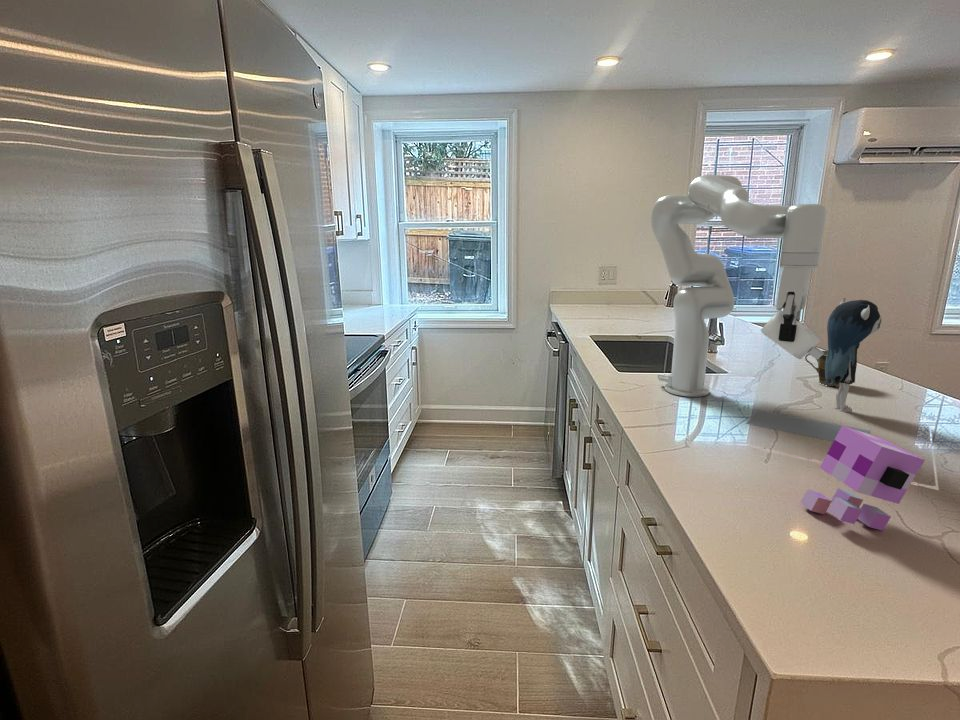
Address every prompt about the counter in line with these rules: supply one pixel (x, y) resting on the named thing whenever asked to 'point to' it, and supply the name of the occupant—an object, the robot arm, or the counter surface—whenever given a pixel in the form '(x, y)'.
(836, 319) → the toy
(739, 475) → the counter surface
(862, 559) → the counter surface
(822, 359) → the ceramic cup
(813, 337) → the plug
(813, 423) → the mat
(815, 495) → the toy
